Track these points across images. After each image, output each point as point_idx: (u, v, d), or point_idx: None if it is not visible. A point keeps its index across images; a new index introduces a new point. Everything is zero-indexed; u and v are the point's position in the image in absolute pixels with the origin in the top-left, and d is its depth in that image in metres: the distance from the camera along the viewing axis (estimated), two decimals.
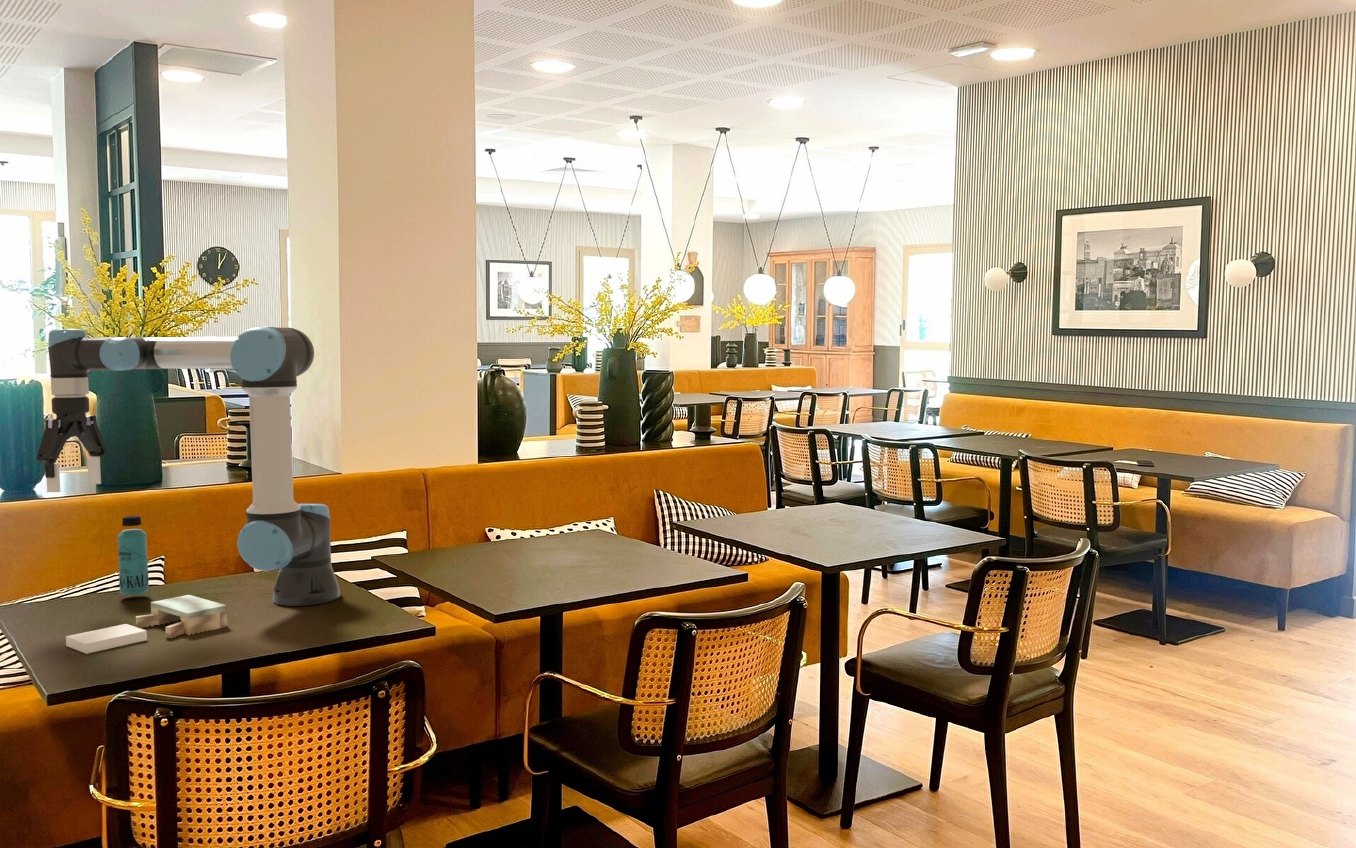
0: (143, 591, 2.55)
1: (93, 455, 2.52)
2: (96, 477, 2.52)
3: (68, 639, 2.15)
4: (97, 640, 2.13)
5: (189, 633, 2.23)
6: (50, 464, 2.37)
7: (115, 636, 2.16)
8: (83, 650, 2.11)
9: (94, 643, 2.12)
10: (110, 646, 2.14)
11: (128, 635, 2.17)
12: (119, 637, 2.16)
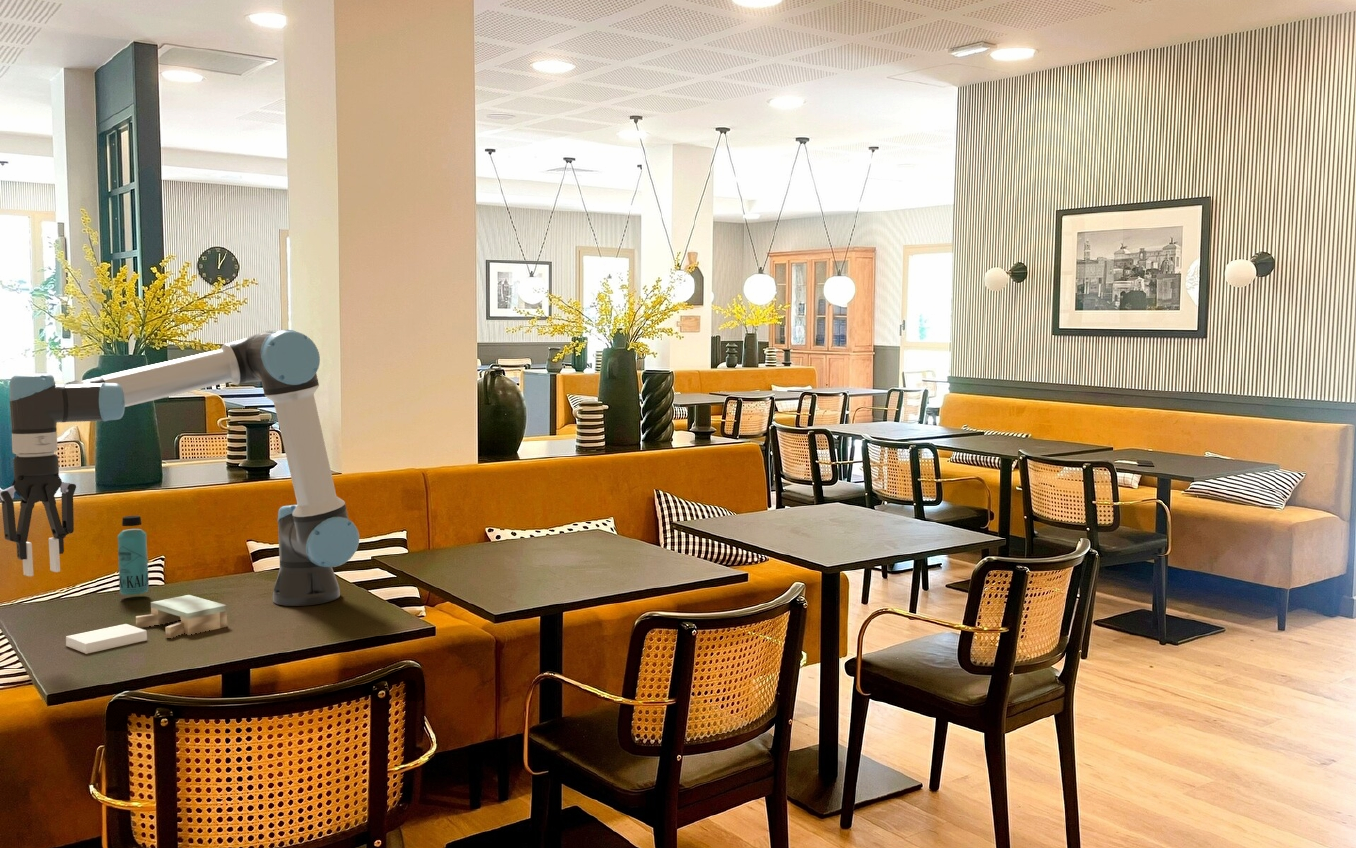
0: (143, 591, 2.55)
1: None
2: None
3: (68, 639, 2.15)
4: (97, 640, 2.13)
5: (189, 633, 2.23)
6: None
7: (115, 636, 2.16)
8: (83, 650, 2.11)
9: (94, 643, 2.12)
10: (110, 646, 2.14)
11: (128, 635, 2.17)
12: (119, 637, 2.16)
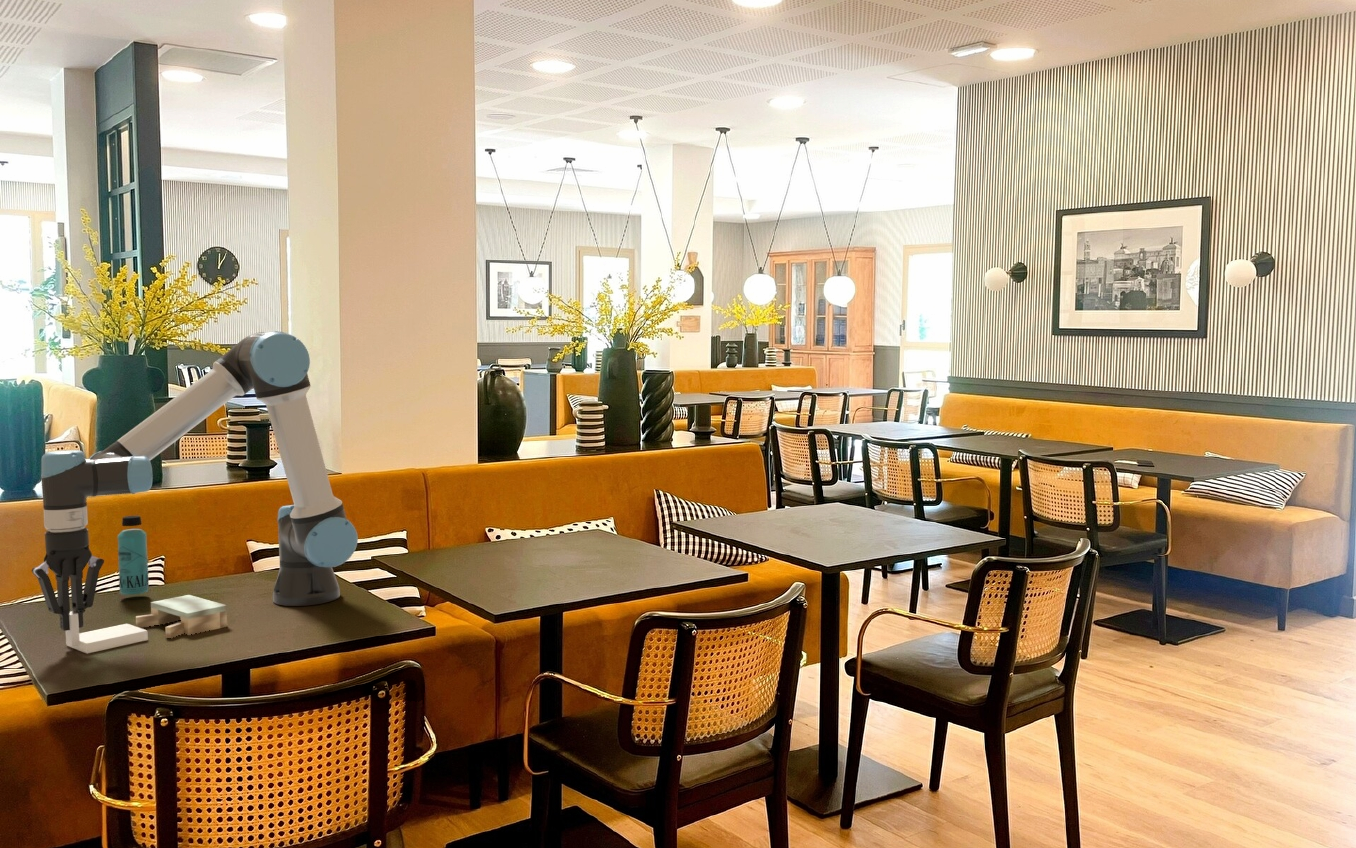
0: (143, 591, 2.55)
1: None
2: None
3: None
4: (98, 640, 2.13)
5: (189, 633, 2.23)
6: None
7: (116, 636, 2.16)
8: (84, 650, 2.11)
9: (95, 643, 2.12)
10: (111, 646, 2.14)
11: (129, 635, 2.17)
12: (120, 637, 2.16)
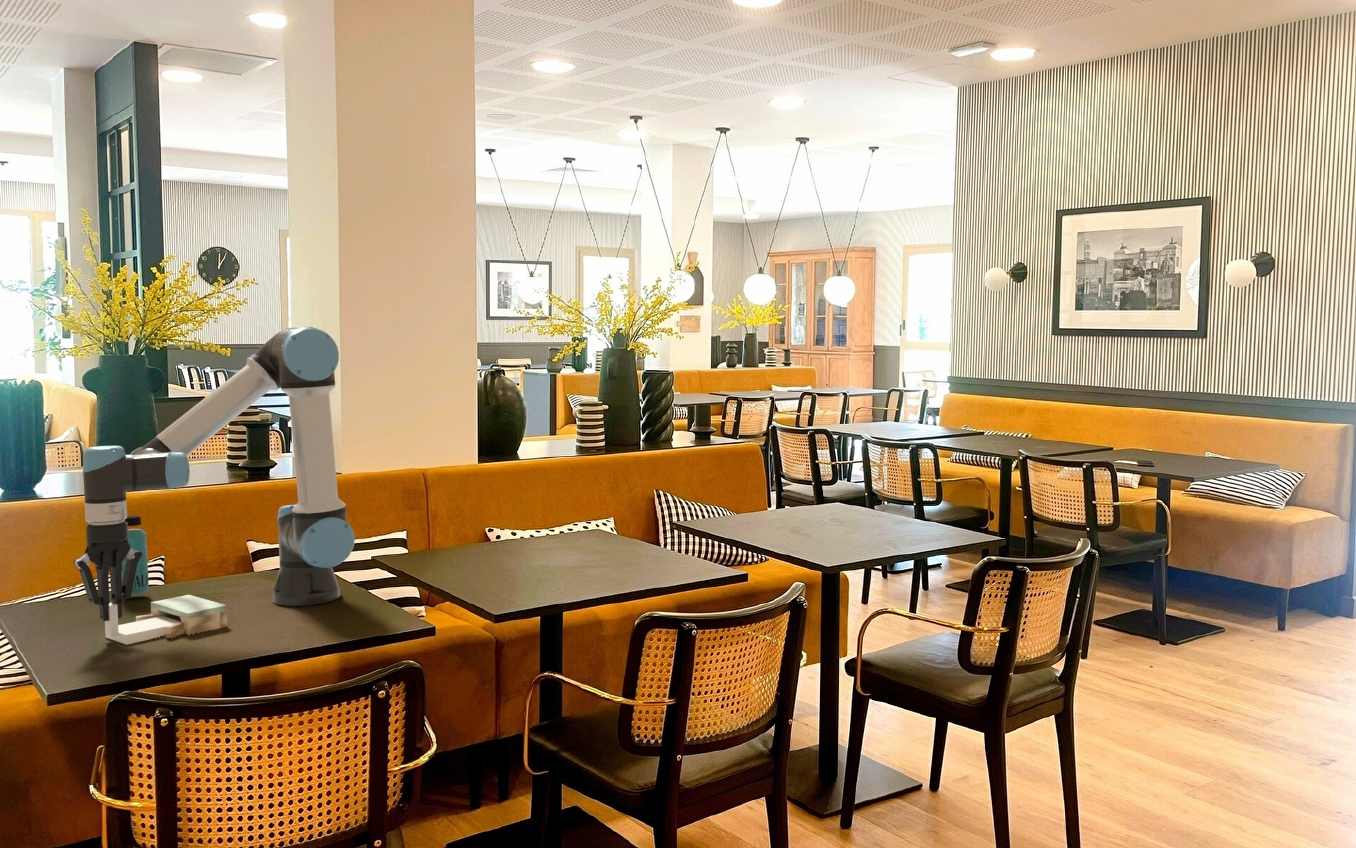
0: (143, 591, 2.55)
1: None
2: None
3: None
4: (136, 631, 2.19)
5: (189, 633, 2.23)
6: None
7: (153, 628, 2.22)
8: (123, 641, 2.17)
9: (134, 634, 2.18)
10: (149, 637, 2.20)
11: None
12: (157, 629, 2.22)
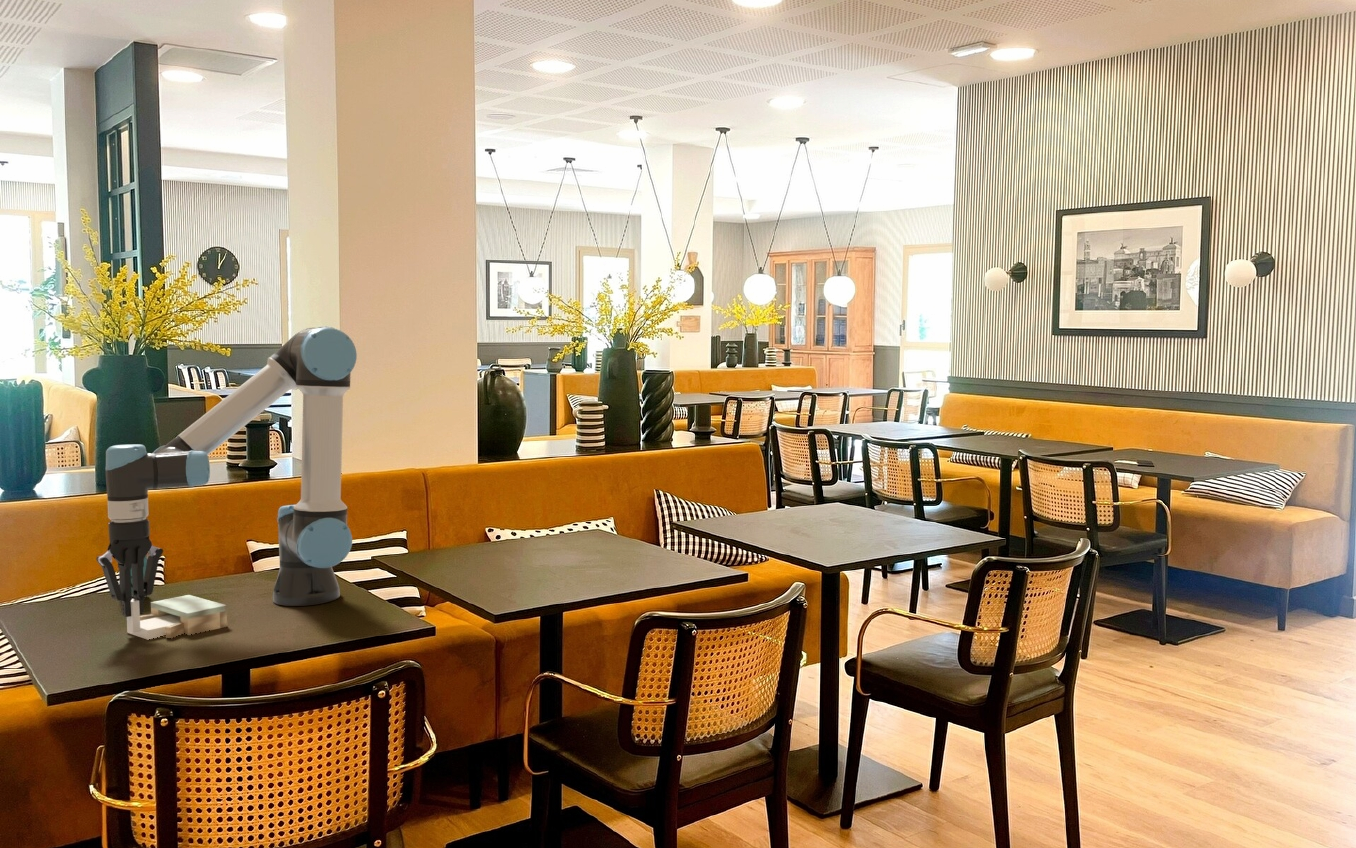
0: None
1: None
2: None
3: None
4: (158, 627, 2.22)
5: (189, 633, 2.23)
6: None
7: (174, 623, 2.25)
8: (145, 636, 2.21)
9: (155, 630, 2.21)
10: None
11: None
12: None
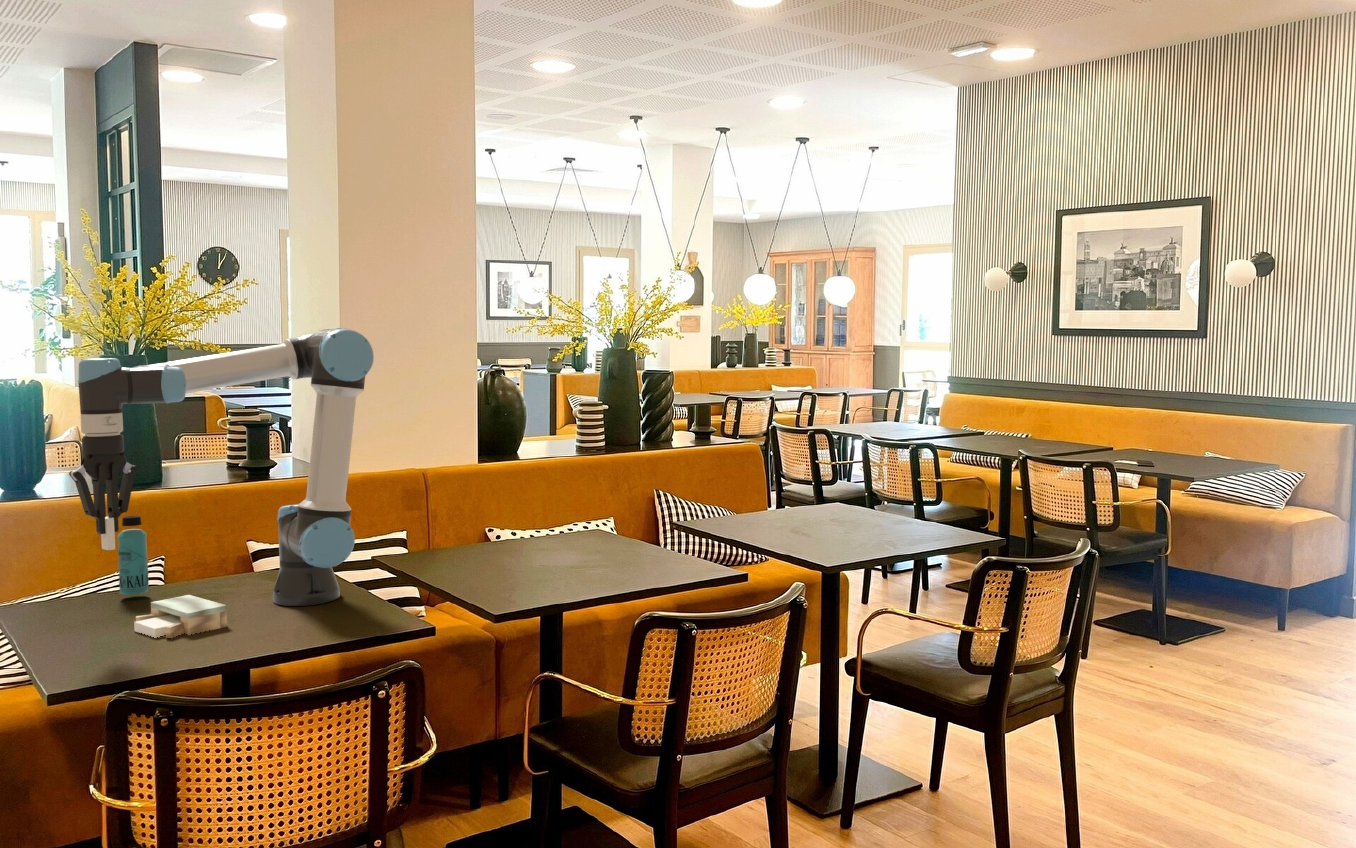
0: (143, 591, 2.55)
1: None
2: None
3: (136, 624, 2.26)
4: (165, 625, 2.24)
5: (189, 633, 2.23)
6: None
7: None
8: (152, 635, 2.22)
9: (162, 628, 2.23)
10: None
11: None
12: None
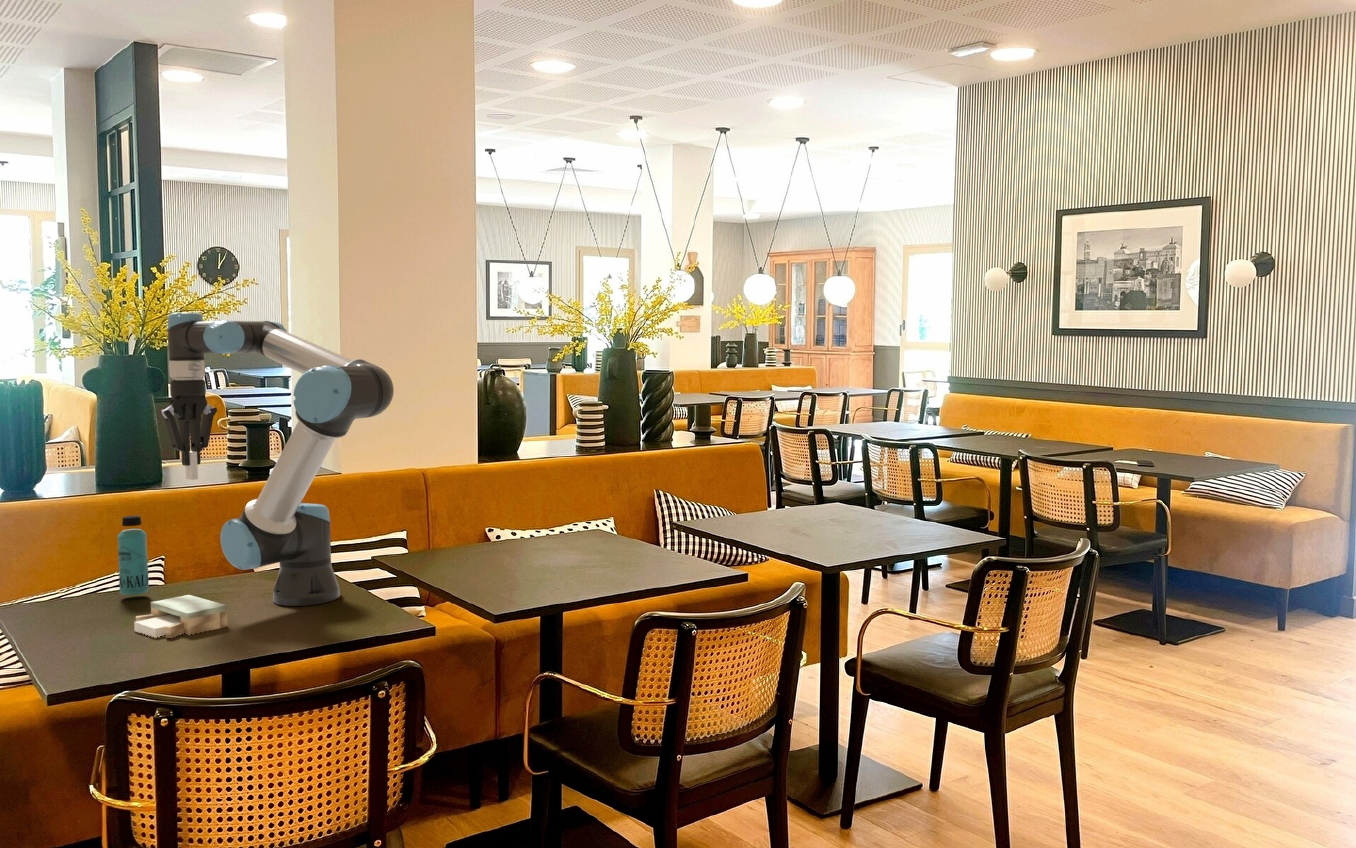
0: (143, 591, 2.55)
1: None
2: None
3: (136, 624, 2.26)
4: (165, 625, 2.24)
5: (189, 633, 2.23)
6: None
7: None
8: (152, 635, 2.22)
9: (162, 628, 2.23)
10: None
11: None
12: None
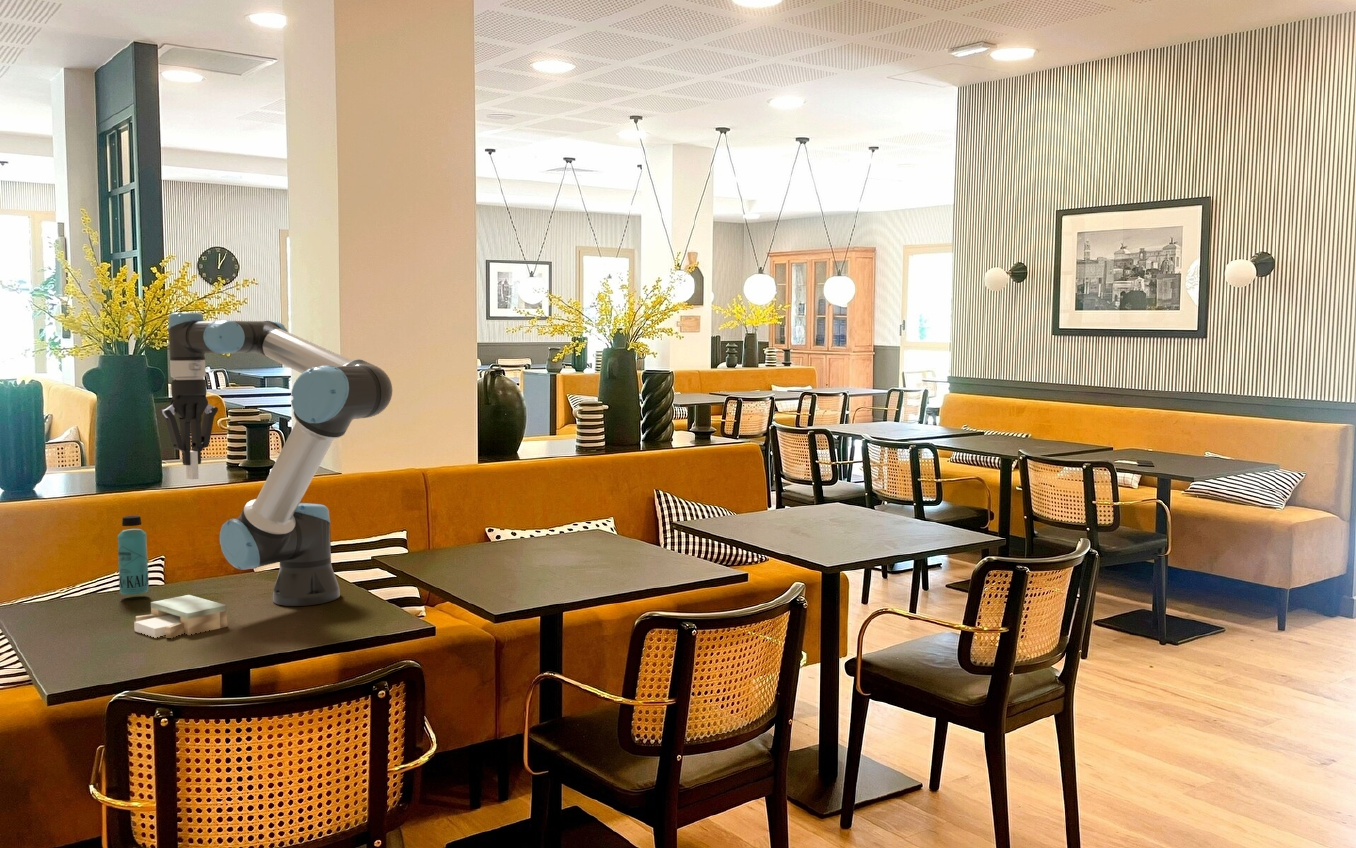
0: (143, 591, 2.55)
1: None
2: None
3: (136, 624, 2.26)
4: (165, 625, 2.24)
5: (189, 633, 2.23)
6: None
7: None
8: (152, 635, 2.22)
9: (162, 628, 2.23)
10: None
11: None
12: None
